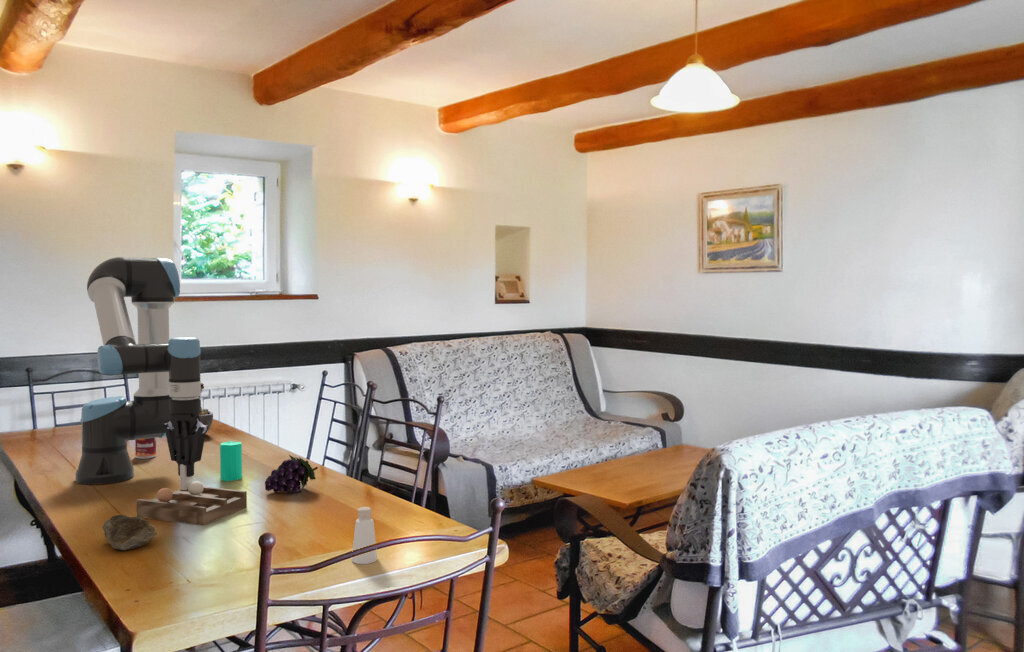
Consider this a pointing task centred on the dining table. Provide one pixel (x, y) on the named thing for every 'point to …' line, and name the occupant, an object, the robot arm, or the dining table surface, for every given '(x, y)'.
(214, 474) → the dining table surface
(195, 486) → the ball cream
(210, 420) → the grey mortar and pestle
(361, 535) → the pepper shaker
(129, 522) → the stone
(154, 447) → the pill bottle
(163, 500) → the ball terracotta
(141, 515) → the board
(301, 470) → the fruit
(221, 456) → the candle
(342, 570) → the dining table surface
